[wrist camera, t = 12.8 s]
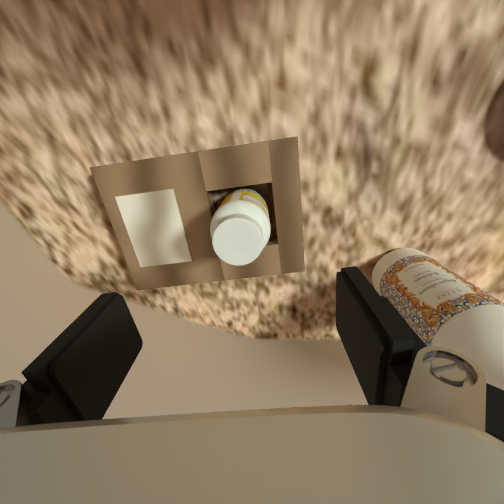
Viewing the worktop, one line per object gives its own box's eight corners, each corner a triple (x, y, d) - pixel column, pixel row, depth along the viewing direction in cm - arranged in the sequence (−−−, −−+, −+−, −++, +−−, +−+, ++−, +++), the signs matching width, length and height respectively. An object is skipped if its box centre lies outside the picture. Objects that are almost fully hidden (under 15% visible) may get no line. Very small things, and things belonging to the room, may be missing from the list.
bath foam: (420, 236, 28) (730, 405, 10) (432, 282, 30) (697, 485, 12) (362, 260, 29) (539, 448, 11) (378, 302, 32) (544, 512, 14)
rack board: (293, 137, 24) (297, 136, 21) (300, 261, 30) (305, 271, 27) (104, 165, 25) (88, 167, 23) (145, 279, 31) (136, 291, 28)
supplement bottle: (263, 183, 26) (267, 202, 17) (271, 229, 28) (277, 268, 19) (215, 192, 26) (194, 215, 17) (226, 237, 28) (213, 278, 20)
